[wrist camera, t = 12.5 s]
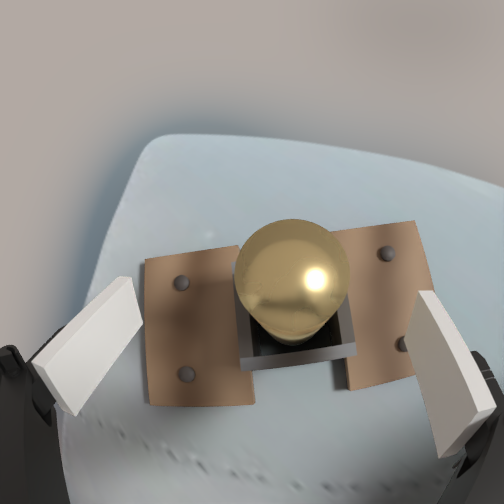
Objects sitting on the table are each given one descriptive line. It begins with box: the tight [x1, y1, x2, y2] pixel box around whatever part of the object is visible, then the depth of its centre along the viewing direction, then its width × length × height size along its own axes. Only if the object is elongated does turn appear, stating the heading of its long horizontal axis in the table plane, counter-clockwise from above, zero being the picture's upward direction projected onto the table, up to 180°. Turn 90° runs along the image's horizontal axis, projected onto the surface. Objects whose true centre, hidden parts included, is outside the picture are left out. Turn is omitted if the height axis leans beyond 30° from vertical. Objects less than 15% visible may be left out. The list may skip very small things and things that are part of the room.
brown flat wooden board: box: [144, 220, 435, 407], centre depth 19 cm, size 23×12×4 cm, turn 96°
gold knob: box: [234, 219, 350, 346], centre depth 15 cm, size 4×4×12 cm
